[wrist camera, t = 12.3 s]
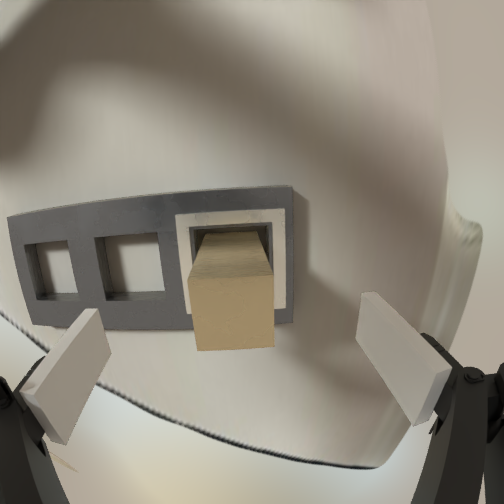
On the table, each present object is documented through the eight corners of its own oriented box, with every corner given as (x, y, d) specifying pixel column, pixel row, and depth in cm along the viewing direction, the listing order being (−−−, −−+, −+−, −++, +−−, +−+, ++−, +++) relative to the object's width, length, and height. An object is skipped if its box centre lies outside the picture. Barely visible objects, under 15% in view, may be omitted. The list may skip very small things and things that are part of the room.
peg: (209, 281, 26) (197, 351, 16) (205, 233, 25) (187, 279, 15) (258, 278, 27) (274, 346, 16) (256, 230, 25) (273, 274, 15)
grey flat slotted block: (41, 316, 26) (31, 325, 24) (18, 214, 23) (5, 217, 21) (288, 312, 28) (293, 324, 26) (287, 185, 24) (293, 186, 22)
